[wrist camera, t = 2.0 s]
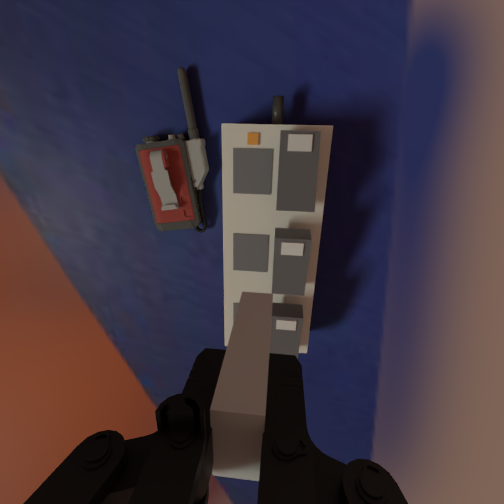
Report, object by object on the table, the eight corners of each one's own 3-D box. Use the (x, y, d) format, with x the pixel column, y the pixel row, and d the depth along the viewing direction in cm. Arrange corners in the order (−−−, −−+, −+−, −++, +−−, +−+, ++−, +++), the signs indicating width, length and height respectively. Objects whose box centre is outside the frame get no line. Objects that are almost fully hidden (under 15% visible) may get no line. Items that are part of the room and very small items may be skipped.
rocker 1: (280, 136, 31) (280, 129, 28) (317, 137, 30) (321, 130, 28) (276, 210, 32) (276, 210, 29) (311, 211, 32) (314, 212, 29)
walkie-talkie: (221, 227, 41) (193, 68, 34) (214, 236, 37) (180, 58, 30) (164, 233, 42) (126, 81, 35) (151, 243, 38) (105, 73, 31)
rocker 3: (271, 302, 36) (270, 317, 34) (302, 304, 36) (303, 319, 34) (269, 343, 41) (268, 358, 38) (296, 345, 40) (297, 361, 38)
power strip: (229, 99, 34) (220, 91, 29) (329, 100, 33) (337, 92, 28) (230, 325, 46) (224, 347, 41) (304, 331, 45) (306, 354, 40)
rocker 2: (275, 227, 33) (274, 238, 30) (310, 229, 32) (311, 240, 30) (272, 281, 37) (271, 294, 35) (303, 283, 37) (304, 296, 34)
